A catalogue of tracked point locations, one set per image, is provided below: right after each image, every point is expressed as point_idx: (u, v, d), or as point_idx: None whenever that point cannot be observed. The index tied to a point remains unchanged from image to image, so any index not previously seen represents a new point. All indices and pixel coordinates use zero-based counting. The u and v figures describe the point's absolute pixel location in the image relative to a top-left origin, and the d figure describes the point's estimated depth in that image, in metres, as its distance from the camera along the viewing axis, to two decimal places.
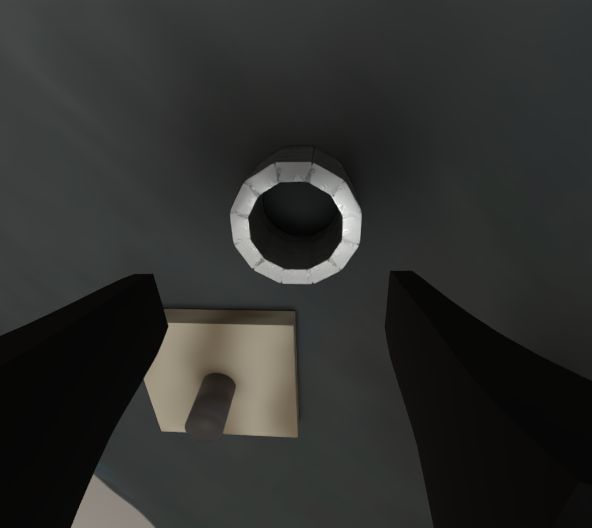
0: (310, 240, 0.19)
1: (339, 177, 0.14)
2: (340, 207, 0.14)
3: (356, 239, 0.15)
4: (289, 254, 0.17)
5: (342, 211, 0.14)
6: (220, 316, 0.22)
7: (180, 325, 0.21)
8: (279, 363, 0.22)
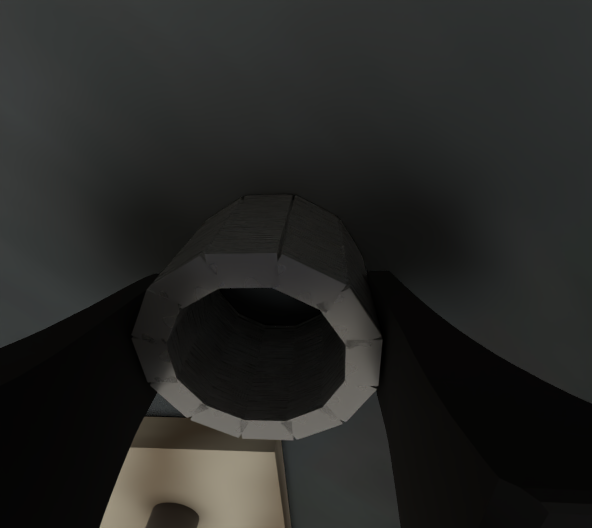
0: (294, 336, 0.12)
1: (336, 278, 0.07)
2: (340, 330, 0.07)
3: (372, 380, 0.08)
4: (257, 374, 0.10)
5: (344, 337, 0.07)
6: (169, 431, 0.15)
7: None
8: (258, 494, 0.15)
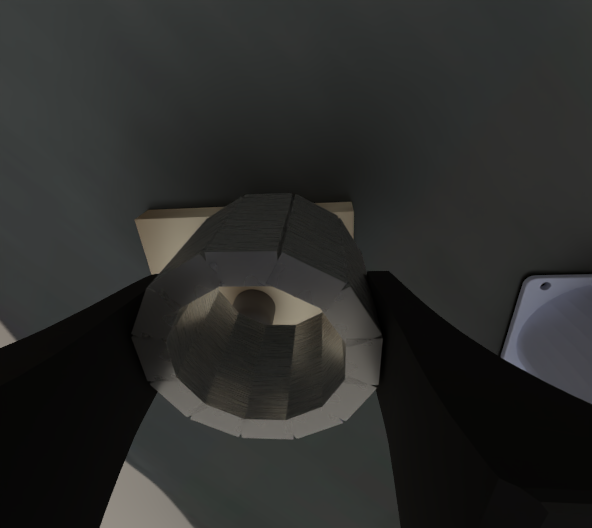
0: (294, 335, 0.12)
1: (336, 277, 0.07)
2: (340, 329, 0.07)
3: (372, 379, 0.08)
4: (257, 373, 0.10)
5: (344, 335, 0.07)
6: None
7: None
8: None
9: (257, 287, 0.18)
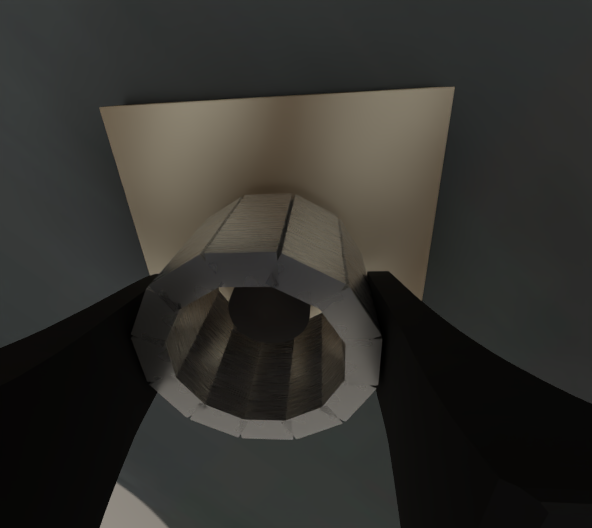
0: None
1: (336, 277, 0.07)
2: (340, 329, 0.07)
3: (371, 379, 0.08)
4: (257, 374, 0.10)
5: (344, 336, 0.07)
6: (291, 96, 0.11)
7: (212, 108, 0.10)
8: (406, 196, 0.11)
9: None
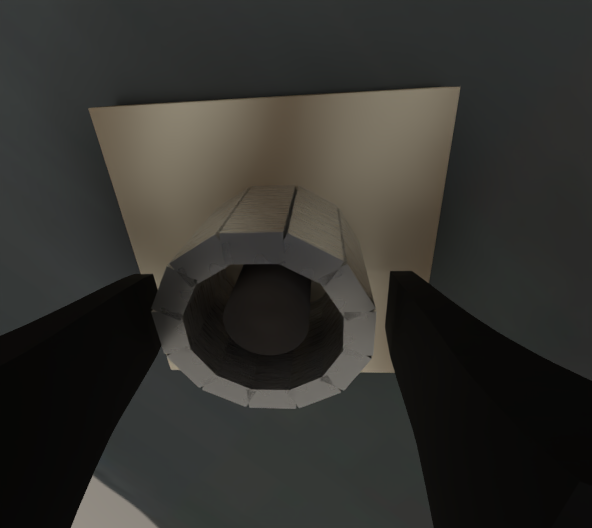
0: None
1: (335, 255, 0.08)
2: (338, 303, 0.08)
3: (367, 350, 0.09)
4: None
5: (342, 309, 0.08)
6: None
7: (206, 109, 0.10)
8: (409, 200, 0.11)
9: None
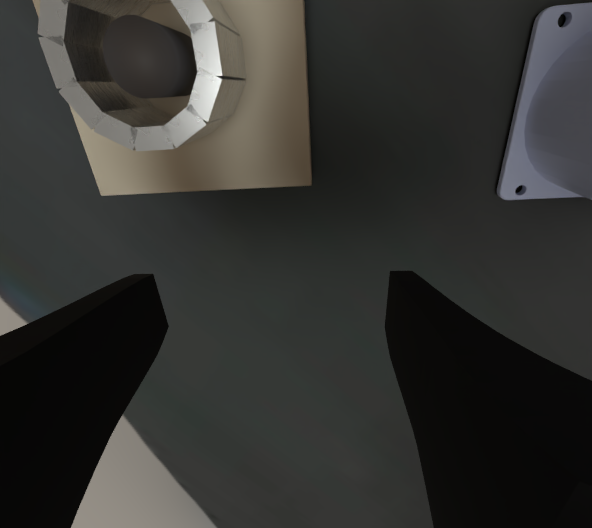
0: None
1: None
2: (183, 13, 0.10)
3: (216, 68, 0.11)
4: (155, 122, 0.13)
5: (187, 20, 0.10)
6: None
7: None
8: None
9: (178, 27, 0.14)
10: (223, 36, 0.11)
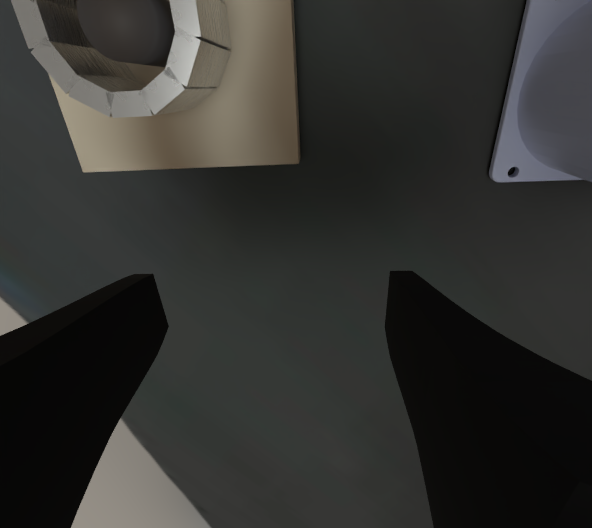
0: None
1: None
2: None
3: (194, 28, 0.10)
4: (135, 90, 0.13)
5: None
6: None
7: None
8: None
9: None
10: None
